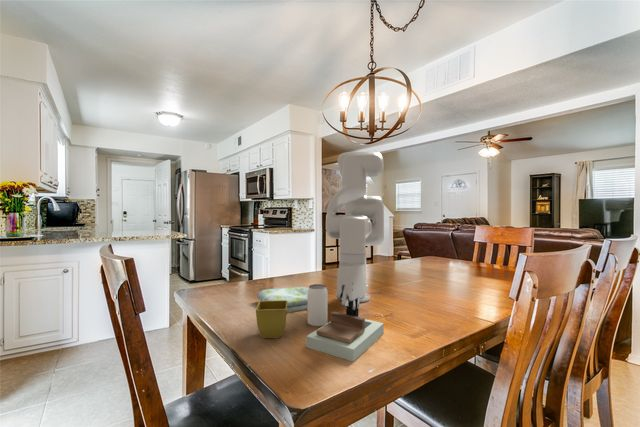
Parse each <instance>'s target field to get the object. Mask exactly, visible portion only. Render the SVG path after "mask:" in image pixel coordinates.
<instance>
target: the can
mask: <svg viewBox="0 0 640 427" xmlns="http://www.w3.org/2000/svg"><path fill="white" fill-rule="evenodd" d="M308 288H309V289H308V309H307V324H308V325H310V326H312V327H322V326H324V325H326V324H327V323H328V289H327V285H325V284H321V283H320V284H319V283H315V284H310V285H309V286H308Z"/></svg>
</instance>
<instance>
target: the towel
mask: <svg viewBox="0 0 640 427" xmlns="http://www.w3.org/2000/svg"><path fill="white" fill-rule="evenodd" d="M308 289H309V287H305V286H293V287H278V288H268V289H267V288H266V289H262V290H260V291H258V293H257V295H256V296H257V299H258V300H259V301H280V300H287V301H288V303H287V314H288V313H292V312H293V313H294V312H298V311H299V312H300V311H303V310H308Z"/></svg>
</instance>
